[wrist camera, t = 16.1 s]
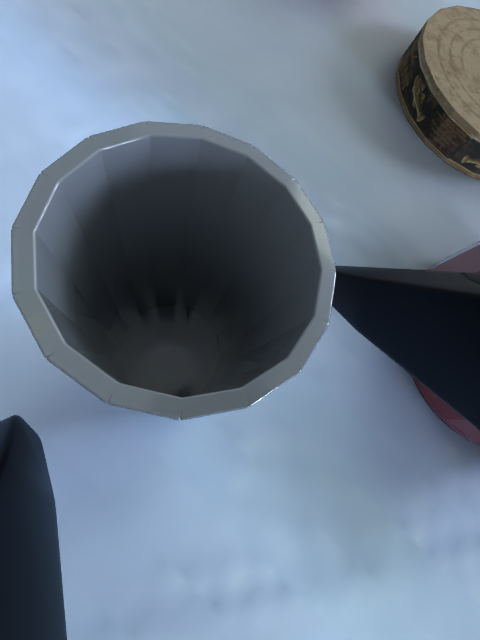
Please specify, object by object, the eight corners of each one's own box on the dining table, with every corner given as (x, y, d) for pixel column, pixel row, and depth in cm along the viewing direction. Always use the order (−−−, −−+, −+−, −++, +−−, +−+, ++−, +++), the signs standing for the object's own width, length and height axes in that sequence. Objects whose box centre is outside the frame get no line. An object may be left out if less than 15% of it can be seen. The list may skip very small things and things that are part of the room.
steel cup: (208, 418, 16) (313, 451, 5) (99, 392, 16) (-63, 366, 4) (232, 318, 18) (349, 182, 7) (135, 290, 17) (87, 79, 6)
